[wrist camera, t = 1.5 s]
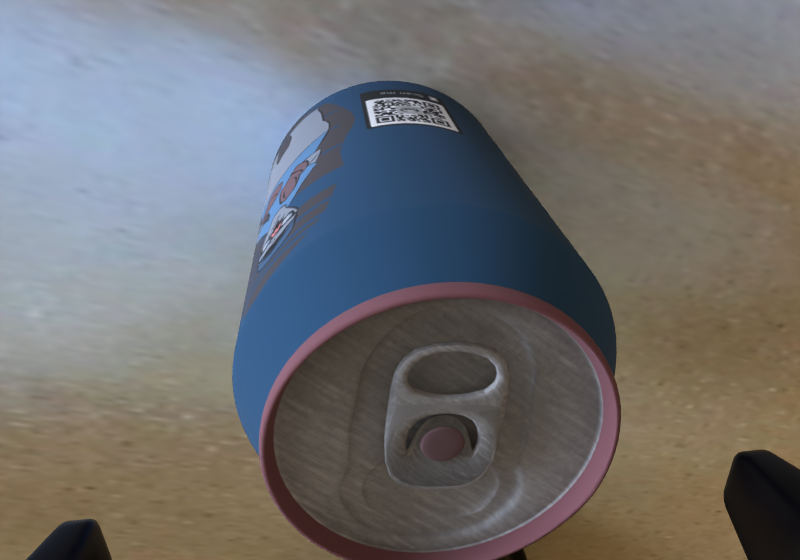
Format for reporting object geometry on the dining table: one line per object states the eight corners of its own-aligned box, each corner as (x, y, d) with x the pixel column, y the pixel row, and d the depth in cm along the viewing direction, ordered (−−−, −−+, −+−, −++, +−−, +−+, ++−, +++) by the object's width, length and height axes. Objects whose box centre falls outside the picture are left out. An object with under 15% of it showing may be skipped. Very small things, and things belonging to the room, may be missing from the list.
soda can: (475, 285, 23) (602, 593, 13) (270, 277, 22) (223, 602, 12) (510, 80, 20) (720, 263, 9) (272, 61, 19) (208, 240, 8)
